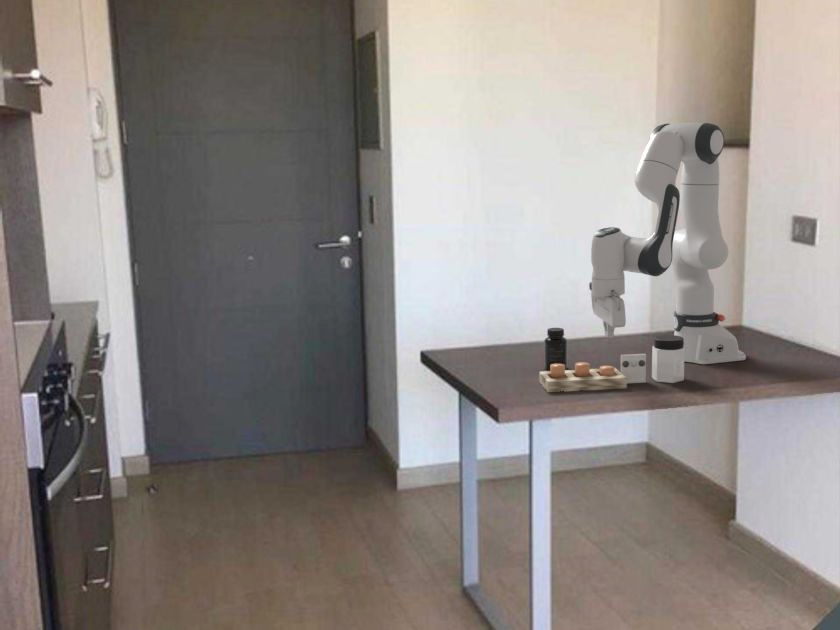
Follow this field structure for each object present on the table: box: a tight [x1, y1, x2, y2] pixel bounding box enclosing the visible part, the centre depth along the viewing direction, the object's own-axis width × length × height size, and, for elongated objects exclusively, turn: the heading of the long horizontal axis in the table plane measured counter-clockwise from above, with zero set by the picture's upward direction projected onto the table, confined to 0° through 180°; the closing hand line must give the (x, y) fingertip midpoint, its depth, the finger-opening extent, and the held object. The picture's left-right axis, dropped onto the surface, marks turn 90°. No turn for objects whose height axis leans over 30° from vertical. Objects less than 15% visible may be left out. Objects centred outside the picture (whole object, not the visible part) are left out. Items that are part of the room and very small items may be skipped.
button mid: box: [574, 361, 591, 376], centre depth 275 cm, size 4×4×3 cm
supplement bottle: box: [543, 327, 568, 371], centre depth 293 cm, size 7×7×12 cm
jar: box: [651, 334, 685, 384], centre depth 278 cm, size 9×8×12 cm
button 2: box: [599, 365, 615, 376], centre depth 276 cm, size 4×4×3 cm
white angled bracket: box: [620, 353, 647, 384], centre depth 277 cm, size 7×3×8 cm, turn 95°
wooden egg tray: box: [538, 367, 628, 393], centre depth 276 cm, size 22×11×3 cm, turn 95°
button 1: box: [549, 364, 566, 378], centre depth 274 cm, size 4×4×3 cm
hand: (609, 336), depth 274 cm, fingers closed
